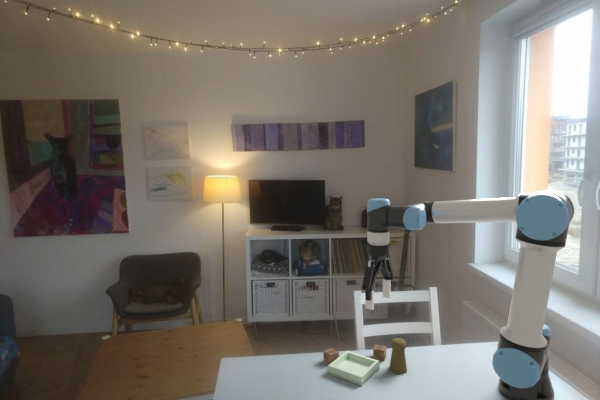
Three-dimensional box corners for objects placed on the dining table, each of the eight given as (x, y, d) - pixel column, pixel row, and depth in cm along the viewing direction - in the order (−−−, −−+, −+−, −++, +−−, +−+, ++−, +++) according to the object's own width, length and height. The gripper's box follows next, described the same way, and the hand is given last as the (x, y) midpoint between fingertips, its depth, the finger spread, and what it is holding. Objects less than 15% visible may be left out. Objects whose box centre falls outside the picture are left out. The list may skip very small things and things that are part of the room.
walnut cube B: (338, 362, 147) (338, 352, 146) (330, 365, 145) (330, 355, 144) (332, 358, 150) (332, 348, 150) (323, 361, 148) (323, 350, 148)
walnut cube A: (386, 356, 151) (386, 346, 151) (384, 361, 147) (384, 350, 147) (375, 354, 153) (375, 344, 152) (373, 359, 149) (373, 349, 148)
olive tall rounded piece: (407, 375, 138) (408, 344, 137) (389, 373, 139) (389, 342, 138) (406, 366, 144) (406, 336, 143) (389, 364, 145) (389, 335, 144)
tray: (379, 369, 142) (379, 360, 142) (361, 386, 132) (361, 377, 131) (347, 358, 150) (347, 350, 149) (328, 373, 139) (328, 365, 139)
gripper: (383, 236, 151) (383, 291, 153) (350, 248, 131) (351, 311, 134) (402, 238, 147) (402, 294, 149) (371, 251, 127) (372, 316, 129)
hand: (378, 303), depth 141 cm, fingers open, 13 cm apart
